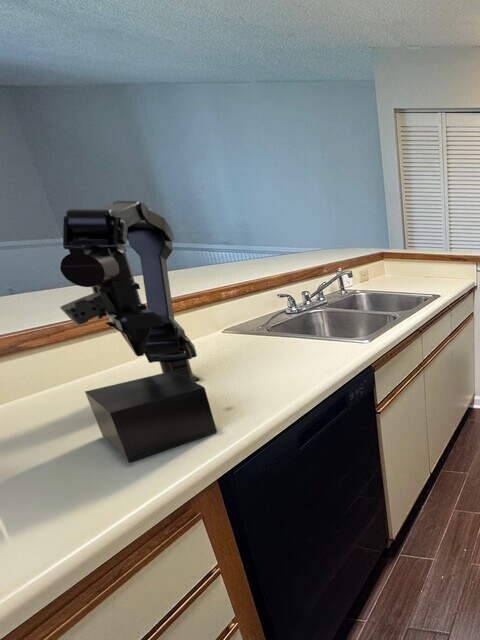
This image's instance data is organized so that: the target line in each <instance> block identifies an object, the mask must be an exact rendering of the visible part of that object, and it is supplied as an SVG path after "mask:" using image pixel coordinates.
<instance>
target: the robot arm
mask: <svg viewBox="0 0 480 640" xmlns="http://www.w3.org/2000/svg"><path fill="white" fill-rule="evenodd" d="M62 227H63V233H62V234H63V235H62V244H63V245H62V247H63V249H64V250H68V251H69V253H68V254H67V255H65V256H63V258H62V259H61V261H60V266H59V269H60V272H61V274H62V276H63V277H64V278H65V279H66V280H68V281H69V282H70V283H72V284H74V285H75V286H78V287H82V288H91V289H92V291H93V293H91V294H88V295H85V296H82V297H79V298H78V299H74V300H72V301H70V302H67V303H65V304H63V305H61V306H60V307H59V308H60V309H61V311H62V312H63V313H64V314H65V315H66V316H67V317H68V318H69V319H70V320H71V321H72V322H73V323H75V324H76V325H78V326H79V325H83V324H86V323H88V322H89V320H92V319H94V318H96V319H97V320H102V319H103V317H108V320H109V321H107V322H104V324H105V325H106V326H107V327H110V328H112V329H114V330H115V331H118V332H119V333H120V335H121V336H122V337H123V339H124V341H125V342H126V344H127V345H128V346H129V347H130V350H132V352H133V354H134V355H135V356H136V357H142V356H144V355H145V357H146V359H147V362H148V363H149V364H152V363H159V365H160V369H161V372H162V373H166V372H170V371H175V372H177V373H179V374H181V375H183V376H184V377H186V378H188V379H190V380H192V381H194V382H195V383H196V382H198V381H200V377H199V376H196V375H194V372H193V370H192V366H191V363H190V360H192V359H194V358H197V357H198V354H197V350H196V347H195V344H194V343H193V342H192V341H191V340H190V338H189V337H188V336H187V335H186V333H185V329H184V328H183V327H182V326H181V325H180V324H179V323H178V322H177V321H176V319H175V316H174V315H175V314H174V307H173V300H172V294H171V292H172V291H171V286H170V279H169V273H168V266H167V260H168V258H169V257H170V256H171V254H172V252H173V250H174V249H173V248H174V247H173V242H175V241H174V240H175V236H174V231H173V229H172V227H171V226H170V224H169V222H167V220H166V218H164V216H162V215H160V214H158V213H156V212H154V211H153V210H151V209H149V208H148V206H147V205H146V203H145V202H141V201H140V200H117V201H114V202H113V203H111V204H109V205H106V206H103V207H100V208H68V209H67V210H66V212H65V215H64V216H63V226H62ZM127 241H128V244H129V247H131V248H132V250H133V251H134V252H135V253H136V254H137V255H138V256H139V258H140V264H141V265H140V266H141V272H142V280H143V286H144V293H145V300H146V304H145V303H142V299H141V296H140V294H139V290H140V289H141V287H140V284H139V283H137V282H136V281H135V278H134V274H133V271H132V269H131V265H130V263H129V259H128V256H127V252H128V250H127V248H126V247H125V245H126V244H127Z"/></svg>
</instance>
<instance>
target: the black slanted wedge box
mask: <svg viewBox="0 0 480 640" xmlns="http://www.w3.org/2000/svg"><path fill="white" fill-rule="evenodd" d="M84 393H85V396H86V398H87V400H88V403H89V406H90V408H91V411H92V413H93V416H94V419H95V421H96V423H97V426H98V428H99V431H100V433H101V436H102V438H103V439H104V440H105V441H106V442H107V443H108V444H109V445H110V447H112V448H113V449H114V450H115V451H116V452H117V453H118V454H119V455H120V456H121V457H122V458H123V459H124V460H125V461H126V462H127V463H128V464H131V463H135V462H137V461H140V460H142V459H146V458H148V457H151V456H154V455H158V454H160V453H163V452H165V451H168V450H172V449H174V448H177V447H180V446H183V445H185V444H186V445H187V444H188V443H191V442H193V441H196V440H199V439H203V438H205V437H209V436H211V435H214V434H216V433H218V430H217V427H216V423H215V420H214V415H213V412H212V409H211V405H210V402H209V398H208V395H207V391H206V388H205V387H204V386H202V385H201V384H199V383H197V382H196V381H195V382H194V381H192V380H190V379H188V378H186V377H184V376H183V375H181V374H179V373H177V372H175V371H170V372H166V373H163V372H162V373H158V374H154V375H150V376H149V375H148V376H145V377H140V378H136V379H133V380H128V381H124V382H123V381H122V382H119V383H115V384H111V385H107V386H102V387H98V388H93V389H90V390H85V391H84Z"/></svg>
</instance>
